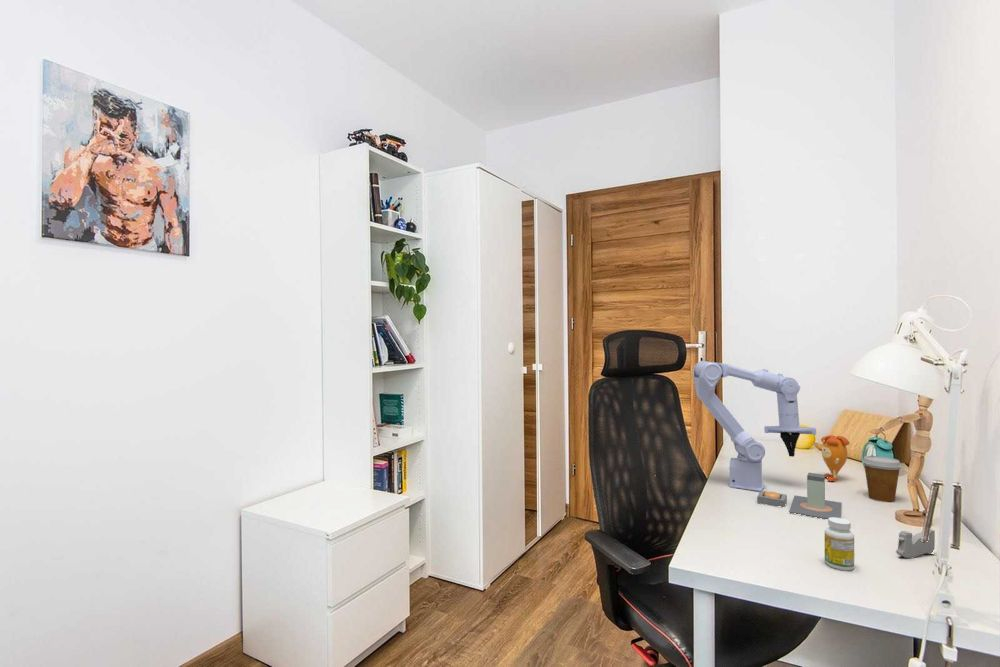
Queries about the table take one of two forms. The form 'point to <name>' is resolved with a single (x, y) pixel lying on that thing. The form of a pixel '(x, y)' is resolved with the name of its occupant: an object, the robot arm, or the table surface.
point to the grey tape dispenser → (915, 544)
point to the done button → (772, 495)
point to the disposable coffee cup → (881, 477)
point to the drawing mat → (801, 508)
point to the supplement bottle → (839, 544)
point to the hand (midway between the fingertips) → (791, 455)
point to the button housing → (772, 499)
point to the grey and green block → (816, 491)
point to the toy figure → (834, 454)
